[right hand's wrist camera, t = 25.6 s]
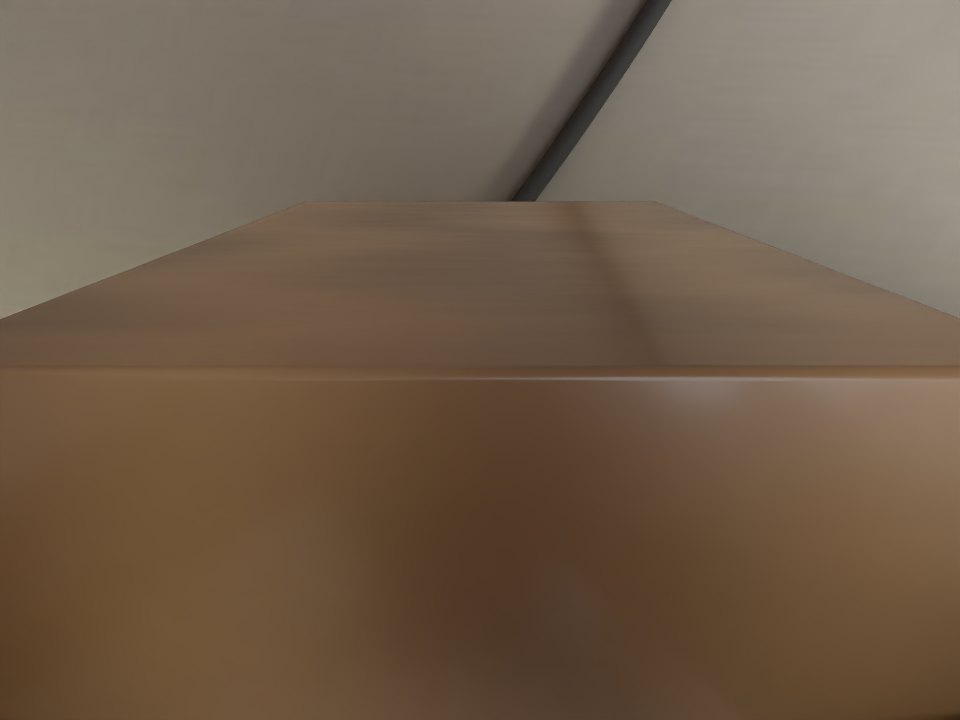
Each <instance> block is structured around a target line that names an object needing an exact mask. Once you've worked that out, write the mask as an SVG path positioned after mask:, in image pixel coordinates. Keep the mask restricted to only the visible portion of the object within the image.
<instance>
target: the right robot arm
mask: <svg viewBox="0 0 960 720" xmlns="http://www.w3.org/2000/svg"><path fill="white" fill-rule="evenodd" d="M670 2H671V0H647V1H646V3H645V5H644V6H643V8H642V10H641V11H640V13H639V14H638V16H637V18H636V19H635V21H634V22H633V24H632V26H631V27H630V29H629V30H628V32H627V33H626V35H625V37H624V38H623V40H622V41H621V43H620V44H619V46H618V48H617V49H616V51H615V52H614V54H613V55H612V57H611V58H610V60H609V61H608V63H607V64H606V66H605V67H604V69H603V71H602V72H601V74H600V75H599V77H598V78H597V80H596V81H595V83H594V84H593V86H592V87H591V89H590V90H589V92H588V93H587V95H586V96H585V98H584V99H583V101H582V102H581V103H580V105H579V106H578V108H577V109H576V111H575V112H574V114H573V115H572V117H571V118H570V120H569V121H568V123H567V124H566V126H565V127H564V128H563V130H562V131H561V133H560V134H559V136H558V137H557V139H556V140H555V141H554V143H553V144H552V146H551V147H550V149H549V150H548V151H547V153H546V154H545V156H544V157H543V159H542V160H541V161H540V163H539V164H538V166H537V167H536V168H535V170H534V171H533V172H532V174H531V175H530V177H529V178H528V179H527V181H526V182H525V183H524V185H523V186H522V187H521V189H520V190H519V192H518V193H517V194H516V196H515V197H514V198H513V200H512V201H511V202H534V201H535V200H536V199H537V197H538V196H539V195H540V193H541V192H542V191H543V189H544V188H545V187H546V185H547V184H548V183H549V181H550V180H551V178H552V177H553V176H554V174H555V173H556V172H557V170H558V169H559V167H560V166H561V165H562V163H563V162H564V161H565V159H566V158H567V156H568V155H569V154H570V152H571V151H572V149H573V148H574V146H575V145H576V144H577V142H578V141H579V139H580V138H581V136H582V135H583V134H584V132H585V131H586V129H587V128H588V126H589V125H590V123H591V122H592V121H593V119H594V118H595V116H596V115H597V113H598V112H599V110H600V109H601V108H602V106H603V105H604V103H605V102H606V100H607V99H608V97H609V96H610V94H611V93H612V91H613V90H614V88H615V87H616V85H617V84H618V82H619V81H620V80H621V78H622V77H623V75H624V74H625V72H626V71H627V69H628V68H629V66H630V64H631V63H632V61H633V60H634V58H635V57H636V55H637V54H638V52H639V51H640V49H641V48H642V46H643V45H644V43H645V42H646V40H647V38H648V37H649V35H650V34H651V32H652V31H653V29H654V27H655V26H656V24H657V23H658V21H659V20H660V18H661V16H662V15H663V13H664V12H665V10H666V8H667V7H668V5H669V4H670Z"/></svg>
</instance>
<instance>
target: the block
mask: <svg viewBox="0 0 960 720" xmlns="http://www.w3.org/2000/svg"><path fill="white" fill-rule="evenodd" d="M0 720H960V319H959V318H956V317H954V316H951V315H949V314H946V313H943V312H941V311H938V310H936V309H933V308H930V307H928V306H925V305H923V304H920V303H917V302H915V301H912V300H909V299H907V298H904V297H902V296H899V295H896V294H894V293H891V292H889V291H886V290H883V289H881V288H878V287H876V286H873V285H870V284H868V283H865V282H863V281H860V280H857V279H855V278H852V277H850V276H847V275H844V274H842V273H839V272H837V271H834V270H831V269H829V268H826V267H824V266H821V265H818V264H816V263H813V262H811V261H808V260H805V259H803V258H800V257H798V256H795V255H792V254H790V253H787V252H785V251H782V250H779V249H777V248H774V247H772V246H769V245H766V244H764V243H761V242H759V241H756V240H753V239H751V238H748V237H746V236H743V235H740V234H738V233H735V232H732V231H730V230H727V229H725V228H722V227H719V226H717V225H714V224H712V223H709V222H706V221H704V220H701V219H699V218H696V217H693V216H691V215H688V214H686V213H683V212H680V211H678V210H675V209H673V208H670V207H667V206H665V205H662V204H660V203H657V202H303V203H300V204H298V205H295V206H293V207H290V208H287V209H285V210H282V211H280V212H277V213H275V214H272V215H269V216H267V217H264V218H262V219H259V220H256V221H254V222H251V223H249V224H246V225H243V226H241V227H238V228H236V229H233V230H231V231H228V232H225V233H223V234H220V235H218V236H215V237H212V238H210V239H207V240H205V241H202V242H199V243H197V244H194V245H192V246H189V247H187V248H184V249H181V250H179V251H176V252H174V253H171V254H168V255H166V256H163V257H161V258H158V259H155V260H153V261H150V262H148V263H145V264H142V265H140V266H137V267H135V268H132V269H130V270H127V271H124V272H122V273H119V274H117V275H114V276H111V277H109V278H106V279H104V280H101V281H98V282H96V283H93V284H91V285H88V286H86V287H83V288H80V289H78V290H75V291H73V292H70V293H67V294H65V295H62V296H60V297H57V298H54V299H52V300H49V301H47V302H44V303H42V304H39V305H36V306H34V307H31V308H29V309H26V310H23V311H21V312H18V313H16V314H13V315H10V316H8V317H5V318H3V319H0Z"/></svg>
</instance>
